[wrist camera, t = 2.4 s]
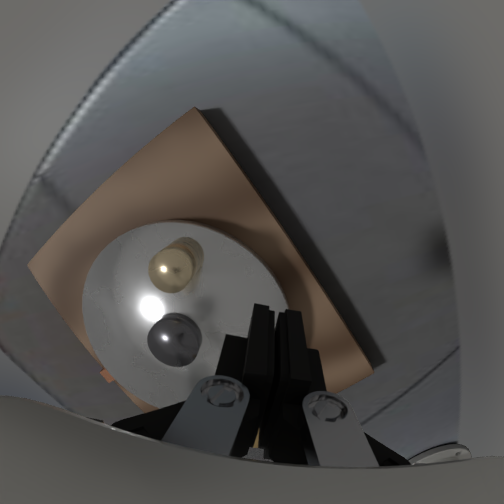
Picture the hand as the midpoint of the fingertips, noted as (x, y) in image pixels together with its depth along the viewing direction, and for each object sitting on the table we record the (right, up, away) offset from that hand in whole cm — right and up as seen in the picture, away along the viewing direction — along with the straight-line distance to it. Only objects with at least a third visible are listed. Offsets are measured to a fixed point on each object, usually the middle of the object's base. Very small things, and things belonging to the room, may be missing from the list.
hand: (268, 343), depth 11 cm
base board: (-6, -2, +14) cm, 15 cm away
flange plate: (-6, -3, +12) cm, 14 cm away
